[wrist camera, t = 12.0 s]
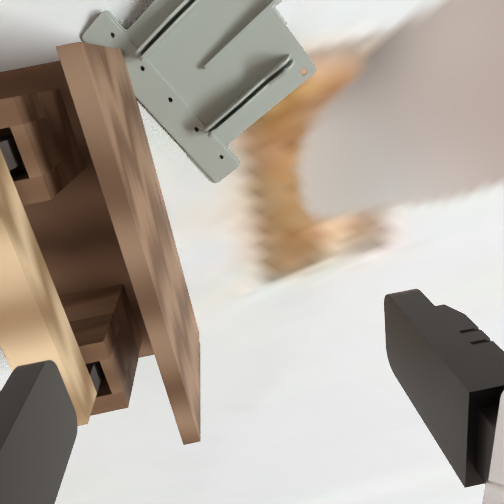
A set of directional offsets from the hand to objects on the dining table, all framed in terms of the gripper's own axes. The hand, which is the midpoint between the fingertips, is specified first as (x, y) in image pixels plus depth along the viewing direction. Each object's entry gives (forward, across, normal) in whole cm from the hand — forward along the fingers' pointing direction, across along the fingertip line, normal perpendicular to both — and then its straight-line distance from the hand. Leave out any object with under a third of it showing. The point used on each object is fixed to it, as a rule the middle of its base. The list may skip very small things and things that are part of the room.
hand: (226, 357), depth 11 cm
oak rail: (+22, +13, +5) cm, 26 cm away
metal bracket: (+30, -2, -6) cm, 31 cm away
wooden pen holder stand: (+30, +11, +5) cm, 32 cm away
